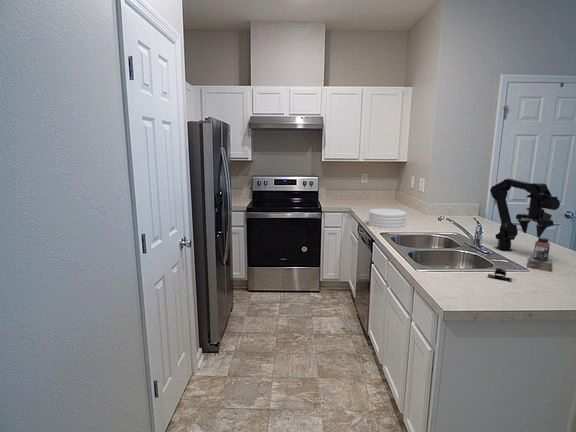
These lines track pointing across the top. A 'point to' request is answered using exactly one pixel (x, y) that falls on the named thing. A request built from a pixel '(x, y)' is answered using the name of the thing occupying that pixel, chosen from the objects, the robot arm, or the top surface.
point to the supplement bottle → (541, 249)
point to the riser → (540, 264)
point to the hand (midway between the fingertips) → (531, 235)
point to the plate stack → (387, 218)
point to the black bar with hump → (502, 272)
